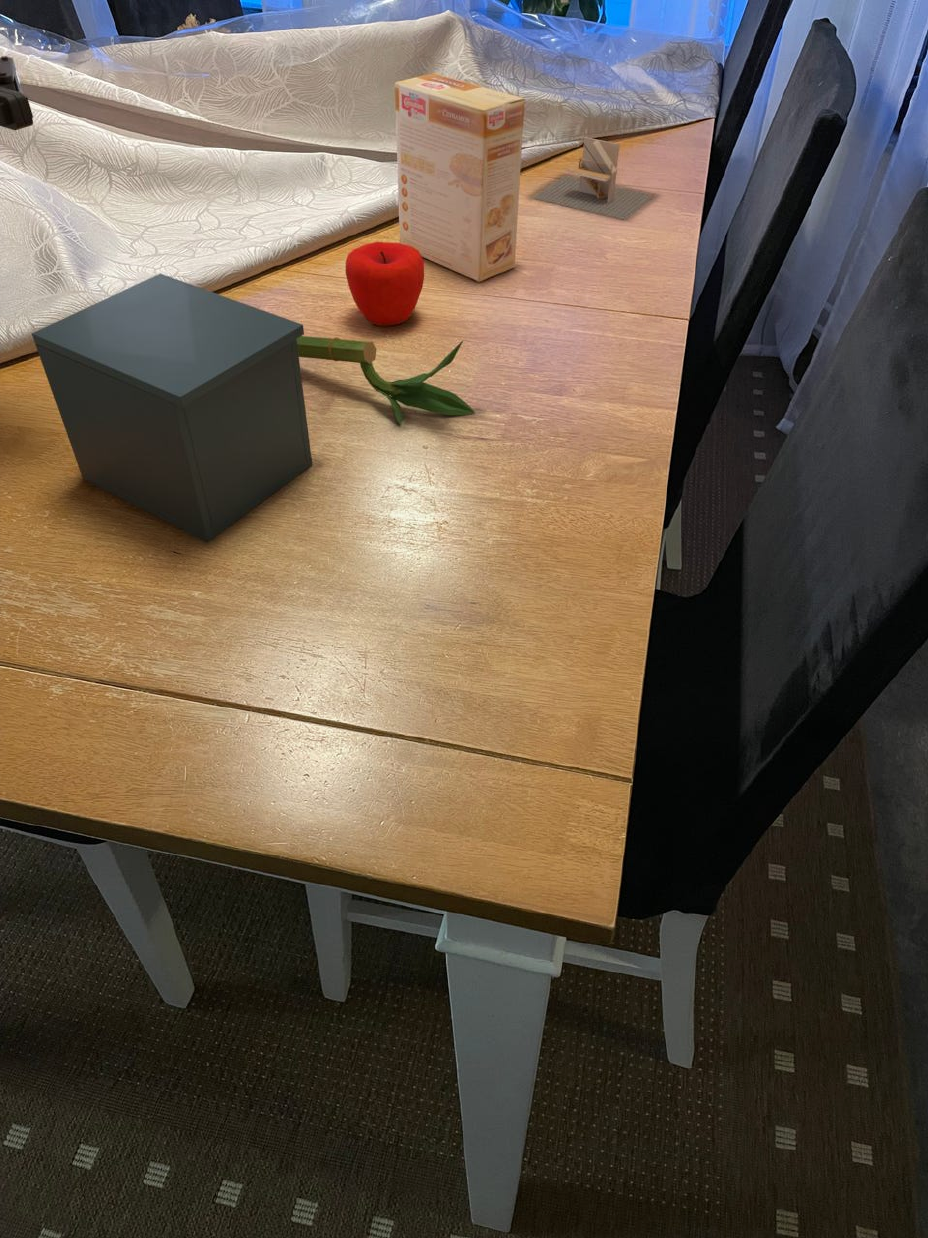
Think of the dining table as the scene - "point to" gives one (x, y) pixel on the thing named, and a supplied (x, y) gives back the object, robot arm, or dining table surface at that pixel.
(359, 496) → the dining table surface
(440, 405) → the decorative plant
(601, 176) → the architectural model
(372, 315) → the apple
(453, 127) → the coffeecake box
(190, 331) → the lid
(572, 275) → the dining table surface
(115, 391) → the chest
